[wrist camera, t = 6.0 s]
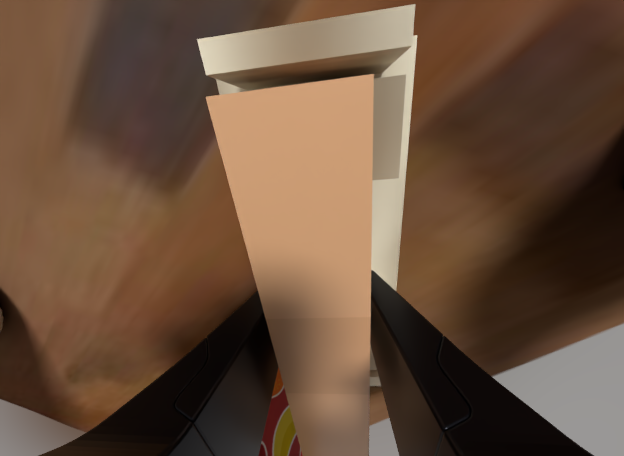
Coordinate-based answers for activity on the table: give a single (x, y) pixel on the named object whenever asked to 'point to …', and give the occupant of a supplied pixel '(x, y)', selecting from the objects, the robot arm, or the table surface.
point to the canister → (1, 320)
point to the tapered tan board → (309, 243)
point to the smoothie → (279, 426)
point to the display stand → (334, 65)
